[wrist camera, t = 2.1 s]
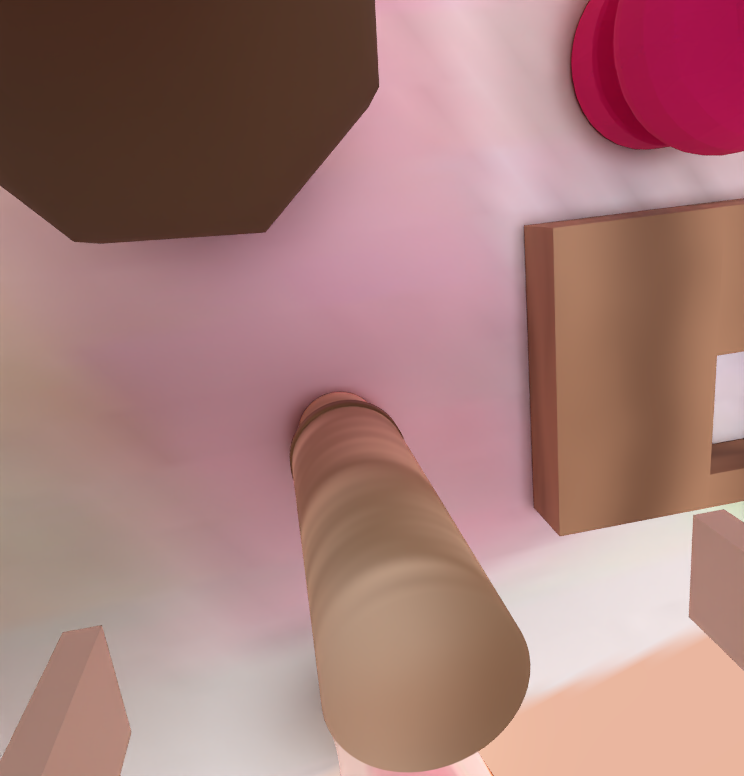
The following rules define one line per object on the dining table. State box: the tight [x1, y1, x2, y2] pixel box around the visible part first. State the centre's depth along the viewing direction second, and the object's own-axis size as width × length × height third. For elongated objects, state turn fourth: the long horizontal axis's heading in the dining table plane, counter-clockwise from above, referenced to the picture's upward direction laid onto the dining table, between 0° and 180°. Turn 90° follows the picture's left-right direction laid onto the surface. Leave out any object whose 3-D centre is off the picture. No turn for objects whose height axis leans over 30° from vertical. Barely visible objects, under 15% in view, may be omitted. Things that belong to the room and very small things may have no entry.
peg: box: [290, 392, 530, 772], centre depth 18 cm, size 4×4×14 cm
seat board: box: [524, 198, 744, 536], centre depth 26 cm, size 17×12×2 cm
